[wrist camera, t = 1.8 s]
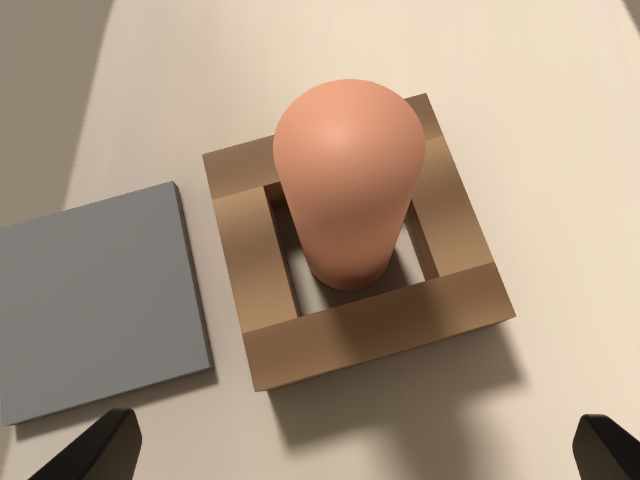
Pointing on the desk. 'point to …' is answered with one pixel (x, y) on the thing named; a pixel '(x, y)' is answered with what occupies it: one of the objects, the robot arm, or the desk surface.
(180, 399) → the desk surface
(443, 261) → the walnut pocket block
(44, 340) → the rubber mat
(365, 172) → the terracotta peg
